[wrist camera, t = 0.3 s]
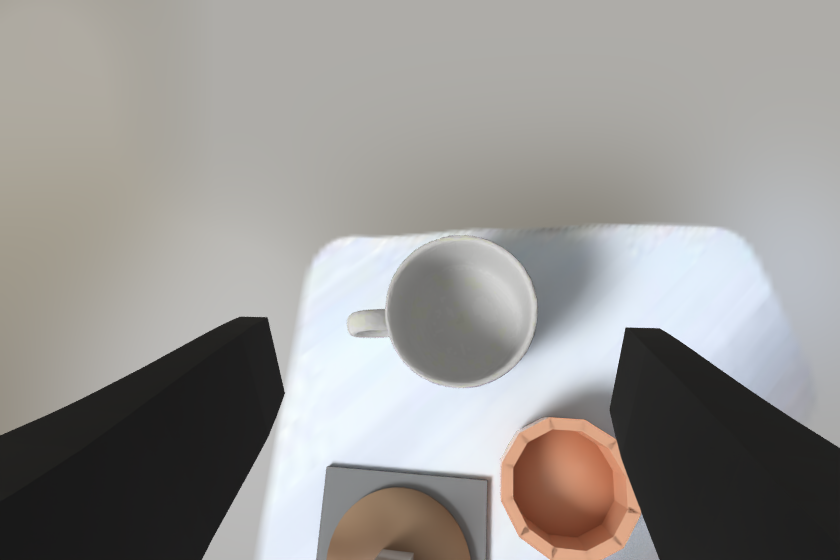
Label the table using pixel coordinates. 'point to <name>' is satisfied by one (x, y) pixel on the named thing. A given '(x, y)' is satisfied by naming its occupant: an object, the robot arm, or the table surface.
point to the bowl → (568, 490)
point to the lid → (398, 529)
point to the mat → (452, 492)
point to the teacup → (456, 312)
